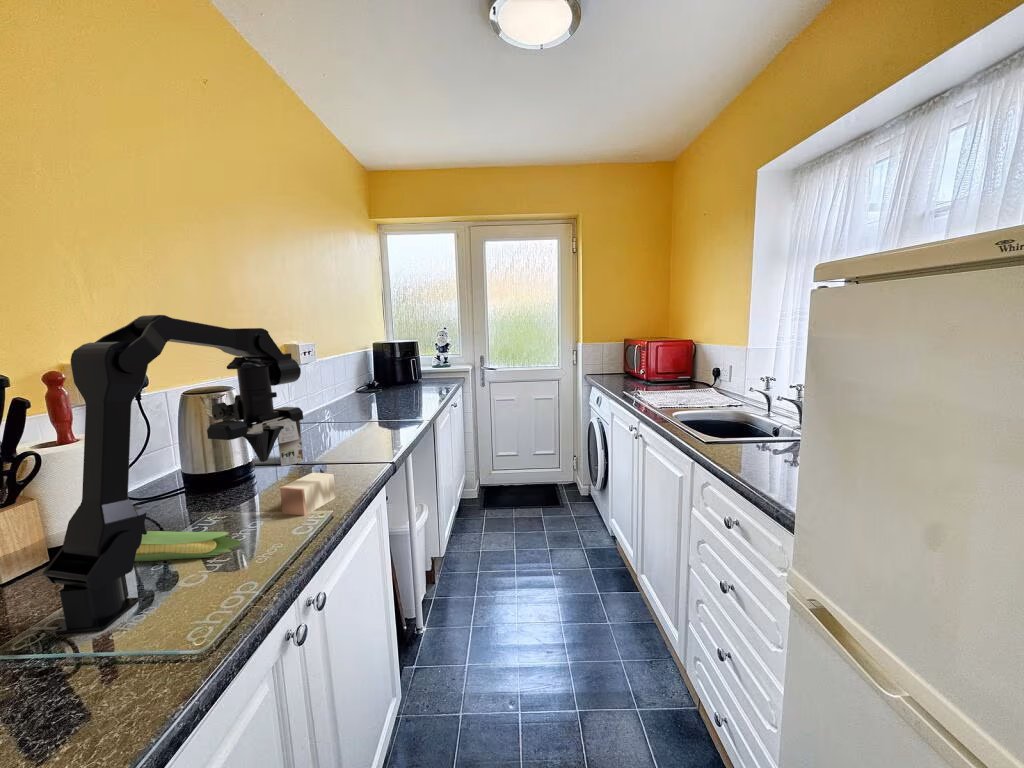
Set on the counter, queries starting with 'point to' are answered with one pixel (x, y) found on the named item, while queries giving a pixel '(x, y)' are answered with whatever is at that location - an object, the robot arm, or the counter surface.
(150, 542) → the edible corn
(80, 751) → the counter surface
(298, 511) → the marked block
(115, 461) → the robot arm
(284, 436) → the coffee box
